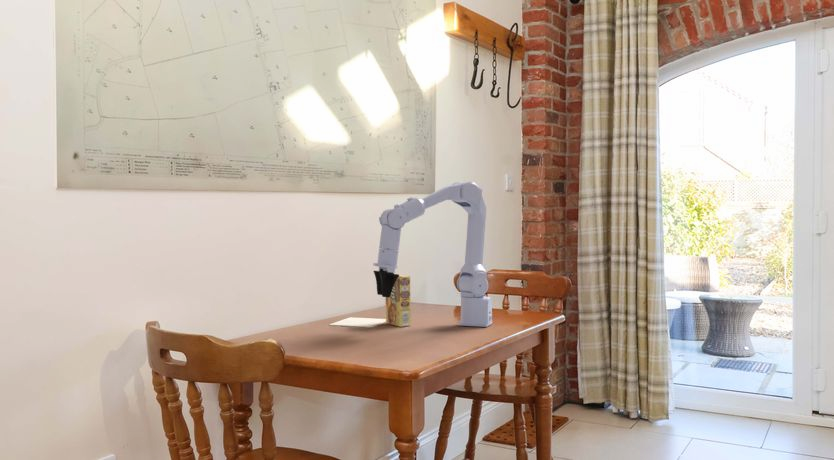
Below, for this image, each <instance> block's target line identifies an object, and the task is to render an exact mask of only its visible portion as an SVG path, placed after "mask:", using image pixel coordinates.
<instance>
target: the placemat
mask: <svg viewBox="0 0 834 460" xmlns="http://www.w3.org/2000/svg"><path fill="white" fill-rule="evenodd" d="M384 323H386V318H370V317H350V316H349V317H347V318H344V319H341V320H338V321H335V322H332V323H330V324H328V325H329V326H332V327H351V328H355V327H356V328H368V329H369V328H370V329H372V328H374V327H377V326H380V325H382V324H384Z"/></svg>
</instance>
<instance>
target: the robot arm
mask: <svg viewBox="0 0 834 460" xmlns="http://www.w3.org/2000/svg"><path fill="white" fill-rule="evenodd" d="M445 201H451V202H453V203H455V204H457V205H459V206H461V208H462V209H464V210H465V212H467V214H468V215H467V226H466V227H467V228H466V229H467V230H466V240H465V241H466V243H465V255H464V264H463V266H462V267H461V268H460V272H459V276H458V278H457V280H456V287H457V289H458V291H459V292H460V321H459V322H458V323H457V324H456V326H459V327H460V326H461V327H464V326H465V327H466V326H467V327H482V328H483V327H484V328H485V327H486V328H487V327H490V325H492V324H493V300H492V297H491V296H485V295H486V293H487V292H488V289H489V286H490V285H489V281H488V279H487V275H488V274H487V270H486V269H485V267H484V266H483V262H484V261H483V259H484V246H485V232H486V217H487V205H486V203H485V200H484V198H483V189H482V188H481V187H480V186H479V185H478V184H477V183H476V182H473V181H468V182H467V181H466V182H465V181H464V182H458V181H457V182H454V183H452V184H448V185H445V186H443V187H441V188H439V189H437V190H435V191H434V192H431V193H430V194H428V195H426V196H424V197H422V198H418V197H413V196H411V197H408V198H406V201H404V202H403V203H400V204H398V203H397V204H394V205H393V208H387V209H385V210H384V211H382V212H381V214H380V216H379V218H378V219H379V220H378V221H379V224H380V226H381V231H380V236H379V237H380V239H379V246H378V247H379V248H378V256H377V263H375V262H373V263H372V265H373V266H375V267H378V270H373V274H374V276H375V277H374V278H375V282H376V283H375V284H376V294H377V295H378V296H381V297H382V298H386V297H390V295H391V292H392V289H393V286H394V284H395V282H396V280H397V278H398V277H399V275H400V274H398V273H395V272H396V269H397V270H398V258H399V250H400V241H401V234H402V228H404V226H405V224H406V223H409V222H411V221H414V220H415V219H418V218H419V217H421V216H424V215H425V212H426V210H427V209H428V208H431V207H434V206H436V205H438V204H440V203H443V202H445Z"/></svg>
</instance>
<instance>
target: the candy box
mask: <svg viewBox="0 0 834 460" xmlns="http://www.w3.org/2000/svg"><path fill="white" fill-rule="evenodd" d="M398 275H399V277H398V278H397V280H396V282H395V284H394V286H393V289H392V292H391V295H390V297H385V319H386V322H385V323H386V324H388V325H391V326H392V325H393V326H397V327H401V328H402V327H411V326H412V325H411V323H412V320H411V319H412V317H411V316H412V314H411V312H412V311H411V309H412V308H411V276H410V275H403V274H402V275H401V274H398Z"/></svg>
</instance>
